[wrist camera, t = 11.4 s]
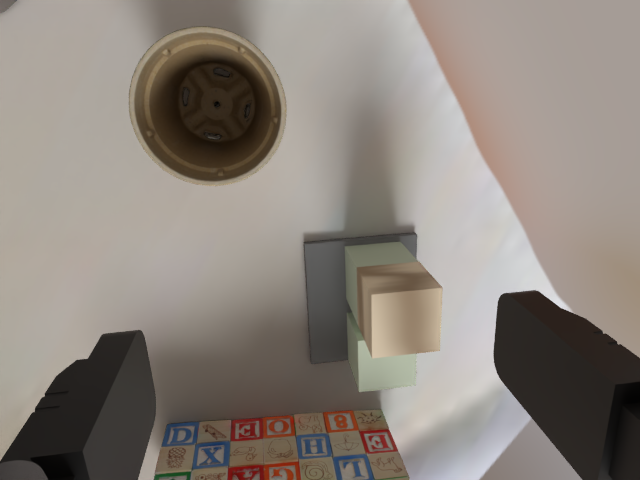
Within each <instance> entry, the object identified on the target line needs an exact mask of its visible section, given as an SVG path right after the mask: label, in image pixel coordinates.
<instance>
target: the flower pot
mask: <svg viewBox="0 0 640 480" xmlns="http://www.w3.org/2000/svg"><path fill="white" fill-rule="evenodd" d="M216 68H220V69H223V70H225V71H228V72H229V73H230V75H229V77H224V76H221V75H217V74H216V75H215V74H214V69H216ZM185 88H187V89H188V90H189V95H188V103H187V105H184V102H183V91H184V89H185ZM215 102H219V104H220V105H219V107H215V105H214V103H215ZM247 104H250V110H249V115H248V117H247V118H245V111H244V109H246V106H247ZM129 112H130V118H131V122H132V125H133V128H134V132H135V134H136V136H137V138H138V140H139V142H140V144H141V145H142V147H143V149H144V150H145V151H146V153H147V154H148V155H149V157H150V158H151V159H152V160H153V161H154V162H155V163H156V164H157V165H159V166H160V167H161V168H162V169H163V170H164V171H166V172H168V173H169V174H171V175H173V176H174V177H176V178H178V179H181V180H183V181H186V182H190V183H193V184H197V185H206V186H220V185H228V184H232V183H235V182H238V181H241V180H244V179H246V178H248V177H250V176H251V175H253V174H254V173H256V172H257V171H259V170H260V169H261V168H262V167H263V166H264V165H265V164H267V163H268V161H269V160H270V159H271V158H272V156H273V155H274V153H275V151H276V150H277V148H278V146H279V144H280V142H281V139H282V137H283V134H284V129H285V125H286V98H285V94H284V90H283V87H282V84H281V81H280V79H279V76H278V74H277V73H276V71H275V69H274V67H273V65H272V64H271V63H270V61H269V60H268V59H267V58H266V56H265V55H264V54H263V53H262V52H261V51H260V50H259V49H258V48H257V47H256V46H254V45H253V44H252V43H251V42H249V41H248V40H246V39H244V38H243V37H241V36H239V35H237V34H235V33H233V32H230V31H227V30H224V29H220V28H214V27H207V26H199V27H190V28H185V29H181V30H178V31H175V32H173V33H171V34H168V35H166V36H164V37H163V38H161V39H160V40H158V41H157V42H156V43H155V44H153V45H152V46H151V47H150V48H149V49H148V50H147V52H146V53H145V54H144V55H143V57H142V58H141V59H140V61H139V63H138V65H137V67H136V69H135V72H134V75H133V77H132V81H131V86H130V91H129ZM206 132H207V133H212V134H218V135H221V138H220V139H210V138H208V137H206V136H205V133H206Z"/></svg>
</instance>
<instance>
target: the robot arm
mask: <svg viewBox="0 0 640 480" xmlns="http://www.w3.org/2000/svg"><path fill="white" fill-rule="evenodd" d="M16 1H17V0H0V13H2V12H4V11H6V10H7V9H8V8H9V7H10V6H11V5H12V4H14V3H15V2H16ZM494 363H495V367H496V371H497V373H498V375H499V377H500V379H501V381H502V382H503V383H504V384H505V386H506V387H507V388H508V389H509V390H510V392H511V393H512V394H513V395H514V397H515V398H516V399H517V400H518V401H519V403H520V404H521V405H522V406H523V408H524V409H525V410H526V411H527V412H528V414H529V415H530V416H531V417H532V419H533V420H534V421H535V422H536V423H537V425H538V426H539V427H540V428H541V430H542V431H543V432H544V433H545V434H546V436H547V437H548V438H549V439H550V441H551V442H552V443H553V444H554V445H555V447H556V448H557V449H558V450H559V451H560V453H561V454H562V455H563V456H564V457H565V459H566V460H567V461H568V462H569V464H570V465H571V466H572V467H573V469H574V470H575V471H576V472H577V474H578V475H579V476H580V477H581V478H582V480H640V358H639V357H637V356H636V355H635V354H633V353H632V352H631V351H629V350H628V349H626V348H625V347H623V346H622V345H621V344H620V345H618V344H617V341H615V340H614V339H613V338H611V337H610V336H609V335H607V334H603V332H602V330H600V329H599V328H598V327H596V326H595V325H593V324H592V323H591V322H589V321H588V320H587V319H585V318H583V317H580V316H578V315H576V314H573V313H571V312H569V311H566V310H564V309H561V308H560V307H559V306H557V305H556V304H555V303H553V302H552V301H551V300H549V299H548V298H547V297H545V296H544V295H543V294H541V293H540V292H538V291H536V290H533V291H523V292H514V293H504V294H502V295H501V296H500V298H499V301H498V307H497V318H496V330H495V342H494ZM155 414H156V397H155V389H154V384H153V379H152V373H151V368H150V363H149V357H148V352H147V347H146V342H145V337H144V335H143V333H142V331H141V330H135V331H126V332H116V333H106V334H103V335H102V336H101V337H100V339H99V341H98V342H97V344H96V346H95V348H94V349H93V351H92V353H91V354H90V356H89V358H88V359H82V360H76V361H75V362H74V363H72V364H71V365H70V366H69V367H67V368H66V369H65V370H64V371H62V372H61V373H60V374H58V375H57V376H56V377H55V379H54V380H53V382H52V384H51V385H50V387H49V388H48V390H47V391H46V393H45V397H42V399H41V400H40V402H39V403H38V405H37V406H36V408H35V412H33V413H32V414H31V415H30V417H29V418H28V420H27V421H26V423H25V425H24V426H23V428H22V429H21V431H20V432H19V434H18V435H17V437H16V438H15V440H14V441H13V443H12V444H11V446H10V447H9V449H8V450H7V452H6V453H5V455H4V456H3V458H2V459H1V461H0V480H138V477H139V473H140V470H141V467H142V463H143V460H144V456H145V453H146V449H147V446H148V442H149V439H150V435H151V432H152V428H153V425H154V421H155Z"/></svg>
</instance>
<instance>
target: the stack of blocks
mask: <svg viewBox="0 0 640 480" xmlns="http://www.w3.org/2000/svg"><path fill="white" fill-rule="evenodd" d="M154 480H409V475H408V473H407V471H406V468H405V466H404V463H403V460H402V458H401V456H400V454H399V453H398V449H397V447H396V445H395V442H394V440H393V437H392V435H391V433H390V431H389V427H388V424H387V422H386V420H385V417H384V415H383V412H382V410H381V409H378V410H362V411H336V412H324V413H321V412H320V413H304V414H294V415H291V416H276V417H264V418H256V419H240V420H233V421H231V420H217V421H203V422H190V423H177V424H168V425H167V427H166V431H165V435H164V439H163V442H162V448H161V450H160V454H159V457H158V461H157V465H156V470H155V476H154Z"/></svg>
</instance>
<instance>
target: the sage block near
mask: <svg viewBox="0 0 640 480" xmlns="http://www.w3.org/2000/svg"><path fill="white" fill-rule="evenodd" d="M408 262H418V261H417V259H416V258H415V257H414V256H413V255H412V254H411V253H410V252H409V251H408V249H407V248H406V247H405V246H404V245H403V244H402V243H401V242H389V243H378V244H366V245H355V246H345V272H346V299H347V301H348V303H349V306H350V308H351V311H352V313H353V315H354V318H355V320H356V322H357V325H358V315H357V267H365V266H376V265H387V264H398V263H408Z"/></svg>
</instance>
